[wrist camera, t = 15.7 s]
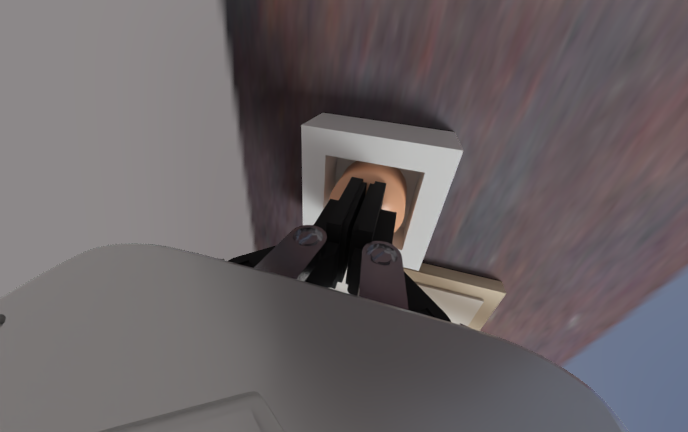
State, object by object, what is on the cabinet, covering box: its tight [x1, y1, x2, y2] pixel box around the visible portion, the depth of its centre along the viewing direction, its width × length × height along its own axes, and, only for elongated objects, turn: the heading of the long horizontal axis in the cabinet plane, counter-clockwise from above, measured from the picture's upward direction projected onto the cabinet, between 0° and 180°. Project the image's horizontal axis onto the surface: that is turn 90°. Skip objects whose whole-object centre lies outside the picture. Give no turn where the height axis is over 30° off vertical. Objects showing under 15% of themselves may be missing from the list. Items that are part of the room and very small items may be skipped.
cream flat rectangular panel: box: [330, 263, 506, 331], centre depth 21 cm, size 16×13×1 cm
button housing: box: [301, 113, 463, 271], centre depth 14 cm, size 7×7×3 cm
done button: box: [329, 161, 407, 233], centre depth 13 cm, size 4×4×2 cm
